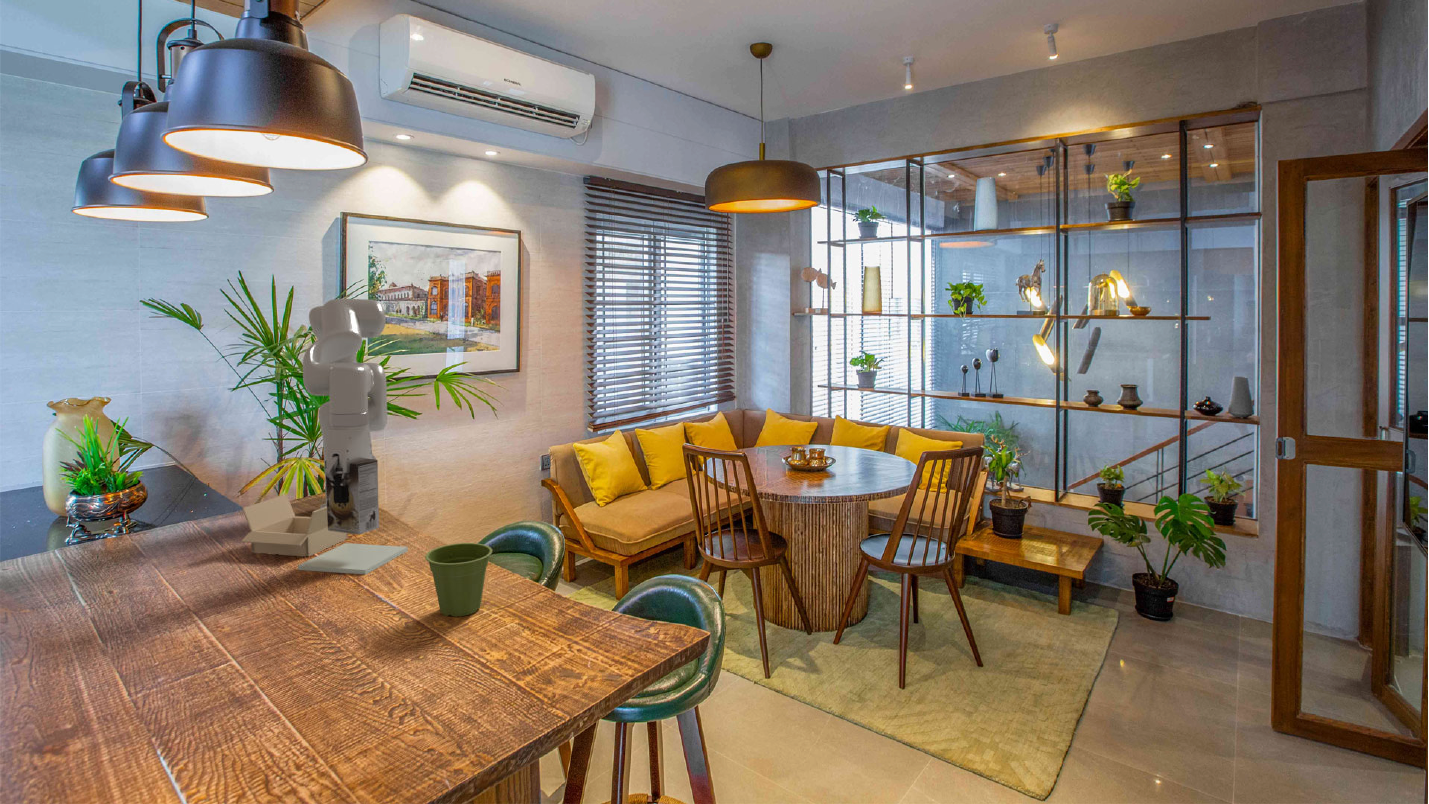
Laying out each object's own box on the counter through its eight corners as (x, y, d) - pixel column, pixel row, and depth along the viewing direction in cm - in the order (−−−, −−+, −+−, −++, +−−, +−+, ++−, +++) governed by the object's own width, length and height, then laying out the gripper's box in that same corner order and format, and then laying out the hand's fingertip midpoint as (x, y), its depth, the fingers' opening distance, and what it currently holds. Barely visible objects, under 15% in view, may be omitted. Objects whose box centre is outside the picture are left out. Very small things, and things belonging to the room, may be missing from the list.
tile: (345, 547, 167) (345, 543, 167) (407, 551, 165) (407, 546, 165) (297, 569, 152) (297, 565, 151) (365, 574, 149) (365, 570, 149)
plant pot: (413, 613, 130) (411, 555, 129) (465, 593, 140) (464, 539, 139) (455, 628, 124) (453, 567, 123) (506, 606, 134) (505, 549, 133)
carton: (295, 532, 178) (293, 491, 177) (361, 536, 176) (359, 494, 175) (235, 556, 160) (232, 510, 158) (307, 561, 157) (305, 514, 156)
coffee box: (326, 531, 156) (323, 460, 154) (349, 523, 162) (346, 455, 160) (359, 535, 153) (356, 463, 151) (380, 527, 159) (378, 458, 158)
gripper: (358, 415, 164) (361, 489, 166) (306, 425, 147) (310, 507, 149) (388, 416, 163) (390, 490, 165) (339, 426, 146) (342, 509, 148)
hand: (352, 498), depth 157 cm, fingers closed on coffee box, 7 cm apart
